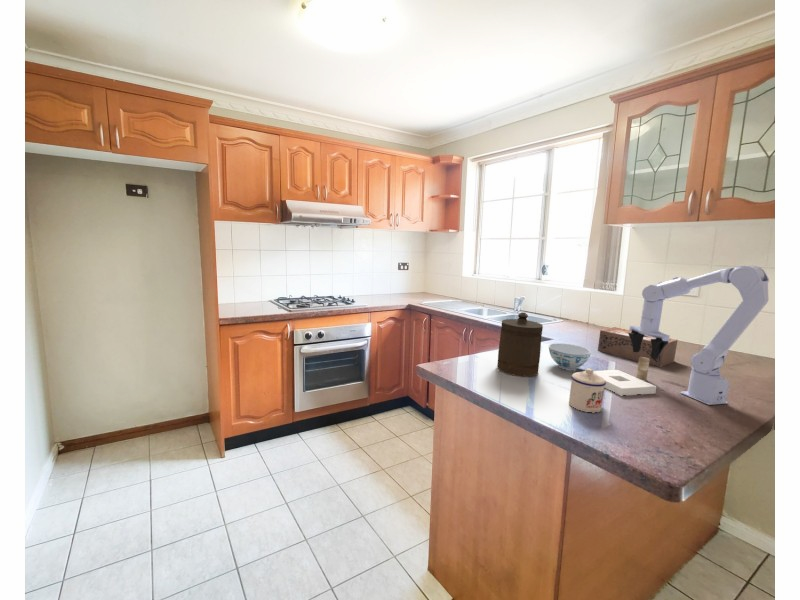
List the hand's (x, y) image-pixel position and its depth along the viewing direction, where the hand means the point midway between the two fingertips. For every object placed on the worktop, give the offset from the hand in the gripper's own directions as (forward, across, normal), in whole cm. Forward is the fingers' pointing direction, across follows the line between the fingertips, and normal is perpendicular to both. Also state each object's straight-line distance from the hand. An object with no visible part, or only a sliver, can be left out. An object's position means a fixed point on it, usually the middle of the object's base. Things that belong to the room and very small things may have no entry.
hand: (645, 355), depth 136 cm
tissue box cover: (+10, +26, -24) cm, 37 cm away
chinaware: (+10, +15, +20) cm, 27 cm away
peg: (+9, 0, 0) cm, 9 cm away
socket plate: (+9, -4, +14) cm, 17 cm away
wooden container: (+10, +15, +42) cm, 46 cm away
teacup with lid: (+10, -17, +38) cm, 43 cm away
